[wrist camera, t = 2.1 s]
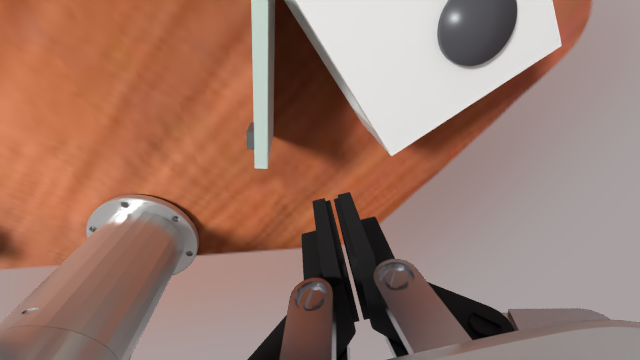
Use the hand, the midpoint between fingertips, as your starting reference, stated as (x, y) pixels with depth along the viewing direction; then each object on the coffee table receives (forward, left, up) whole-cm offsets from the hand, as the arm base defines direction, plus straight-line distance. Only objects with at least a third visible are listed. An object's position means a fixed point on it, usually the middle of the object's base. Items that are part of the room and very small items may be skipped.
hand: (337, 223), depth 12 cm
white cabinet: (+11, +4, -20) cm, 23 cm away
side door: (-1, +6, -20) cm, 21 cm away
